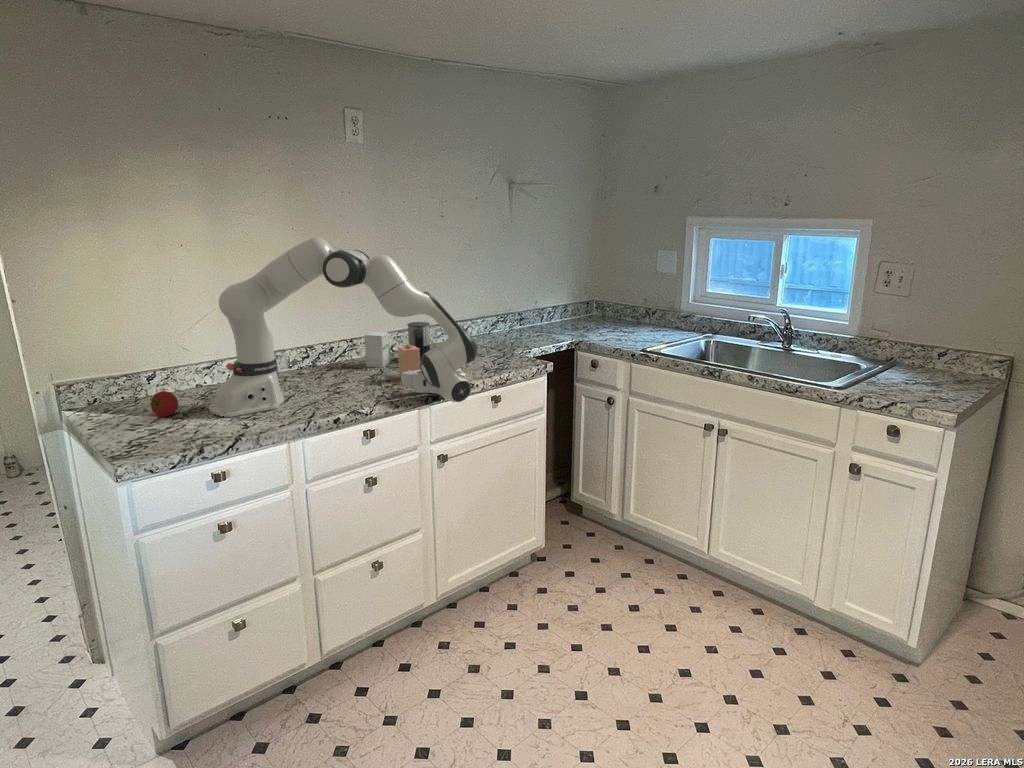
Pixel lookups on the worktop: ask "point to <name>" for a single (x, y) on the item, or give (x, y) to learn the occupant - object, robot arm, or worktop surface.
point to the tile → (395, 379)
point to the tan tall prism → (408, 358)
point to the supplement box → (377, 349)
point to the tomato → (164, 404)
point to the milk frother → (419, 336)
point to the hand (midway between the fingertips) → (422, 370)
